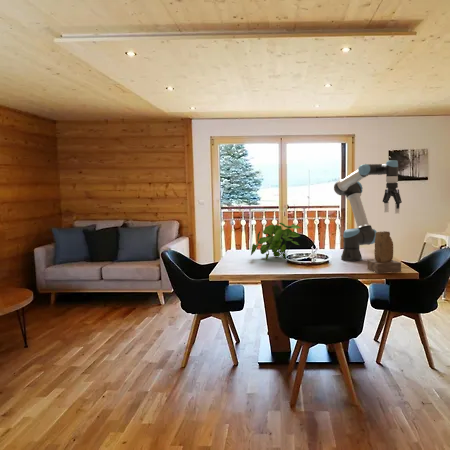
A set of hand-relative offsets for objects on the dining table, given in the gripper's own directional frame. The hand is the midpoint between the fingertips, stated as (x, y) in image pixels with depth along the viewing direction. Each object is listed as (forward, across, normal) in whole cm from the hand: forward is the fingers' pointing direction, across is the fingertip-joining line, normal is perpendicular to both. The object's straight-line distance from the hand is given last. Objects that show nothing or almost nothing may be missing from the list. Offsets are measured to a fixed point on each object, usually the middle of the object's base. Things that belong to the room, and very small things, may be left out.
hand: (391, 212), depth 289 cm
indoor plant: (+37, +42, +72) cm, 91 cm away
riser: (+37, -18, +16) cm, 44 cm away
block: (+31, -18, +16) cm, 39 cm away
